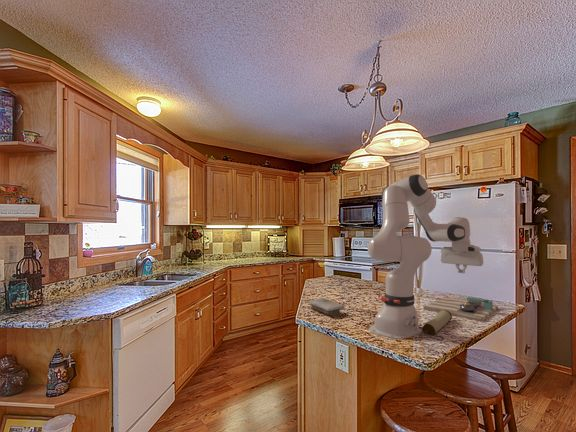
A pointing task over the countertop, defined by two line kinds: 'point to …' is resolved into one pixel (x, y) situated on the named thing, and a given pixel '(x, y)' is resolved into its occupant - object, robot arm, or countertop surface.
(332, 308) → the packaged product
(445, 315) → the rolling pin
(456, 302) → the board
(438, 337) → the countertop surface
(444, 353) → the countertop surface
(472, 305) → the lever
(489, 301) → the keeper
